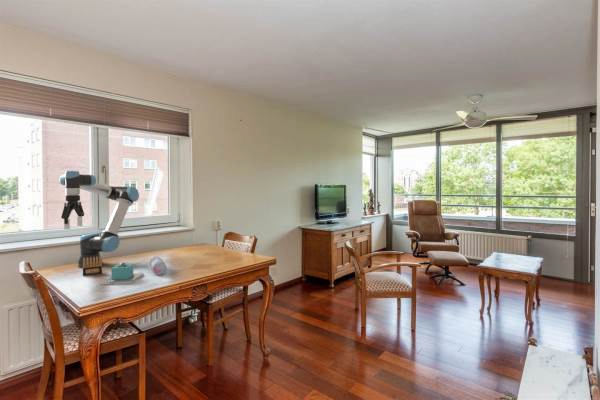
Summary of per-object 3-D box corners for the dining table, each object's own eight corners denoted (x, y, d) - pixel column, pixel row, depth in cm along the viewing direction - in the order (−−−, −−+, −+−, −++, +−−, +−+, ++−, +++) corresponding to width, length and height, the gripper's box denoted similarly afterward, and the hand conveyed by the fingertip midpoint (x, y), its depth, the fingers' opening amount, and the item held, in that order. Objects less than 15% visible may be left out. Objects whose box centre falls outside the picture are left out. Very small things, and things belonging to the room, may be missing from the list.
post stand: (114, 276, 201) (114, 260, 201) (143, 275, 204) (143, 259, 203) (99, 284, 184) (99, 267, 183) (131, 283, 186) (131, 266, 185)
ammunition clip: (102, 273, 208) (101, 255, 208) (102, 273, 207) (101, 256, 206) (82, 275, 202) (82, 257, 202) (82, 276, 201) (82, 257, 200)
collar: (118, 275, 197) (118, 264, 197) (133, 274, 198) (133, 264, 198) (111, 279, 189) (111, 268, 188) (127, 279, 190) (126, 267, 189)
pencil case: (149, 269, 218) (149, 256, 218) (162, 267, 223) (162, 254, 222) (152, 277, 200) (152, 262, 200) (167, 275, 205) (167, 261, 204)
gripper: (66, 195, 187) (67, 230, 188) (89, 194, 212) (90, 225, 213) (53, 195, 186) (54, 230, 187) (78, 194, 211) (78, 225, 212)
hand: (73, 227), depth 200 cm, fingers open, 13 cm apart
